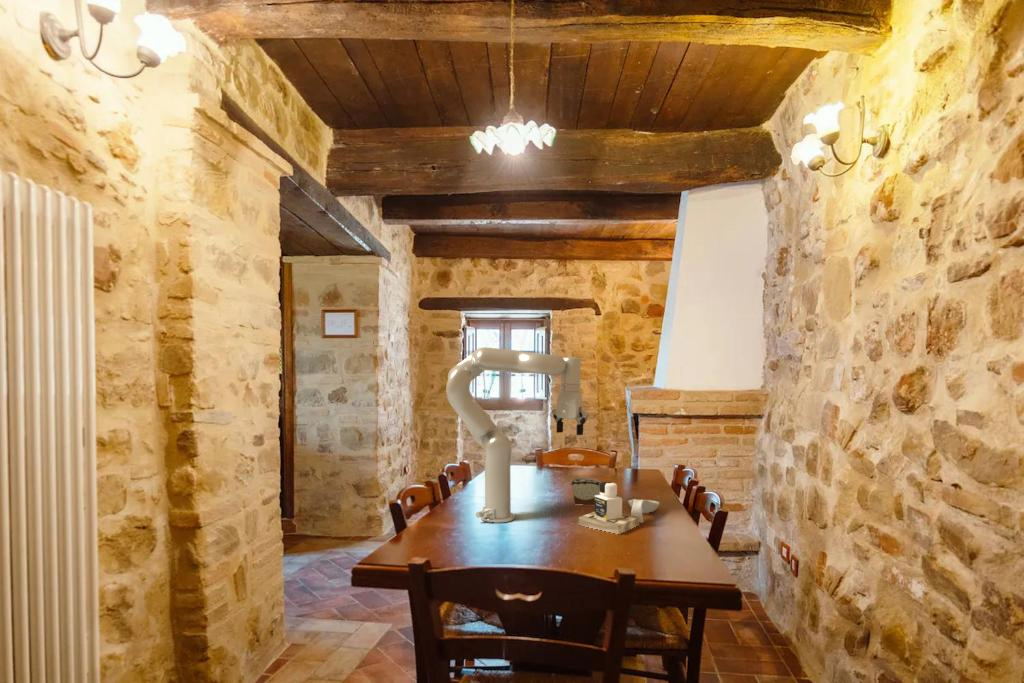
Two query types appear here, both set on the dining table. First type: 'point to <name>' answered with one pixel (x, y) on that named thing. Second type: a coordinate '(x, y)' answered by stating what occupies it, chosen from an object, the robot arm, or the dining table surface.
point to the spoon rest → (642, 507)
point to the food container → (585, 490)
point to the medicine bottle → (608, 502)
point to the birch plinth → (609, 523)
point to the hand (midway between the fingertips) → (569, 433)
